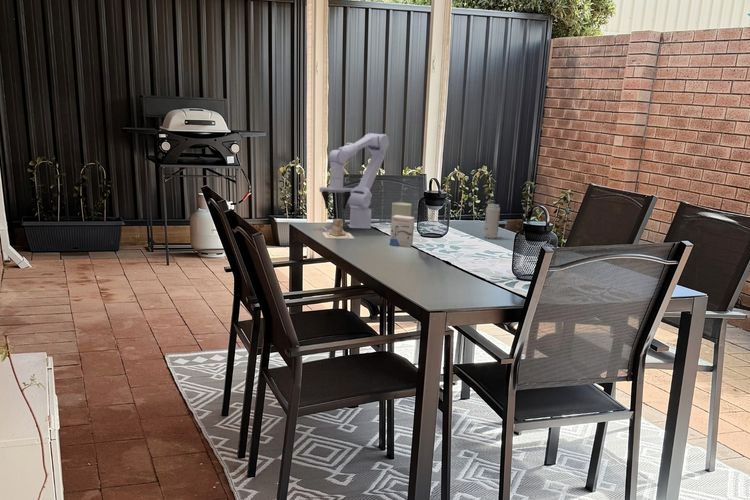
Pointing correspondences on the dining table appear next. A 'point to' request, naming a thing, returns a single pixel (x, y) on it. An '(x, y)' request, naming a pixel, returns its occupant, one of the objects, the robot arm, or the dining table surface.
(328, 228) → the ink pad
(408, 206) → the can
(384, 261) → the dining table surface
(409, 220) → the ink box
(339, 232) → the stamp
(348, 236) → the mat
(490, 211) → the energy drink can
